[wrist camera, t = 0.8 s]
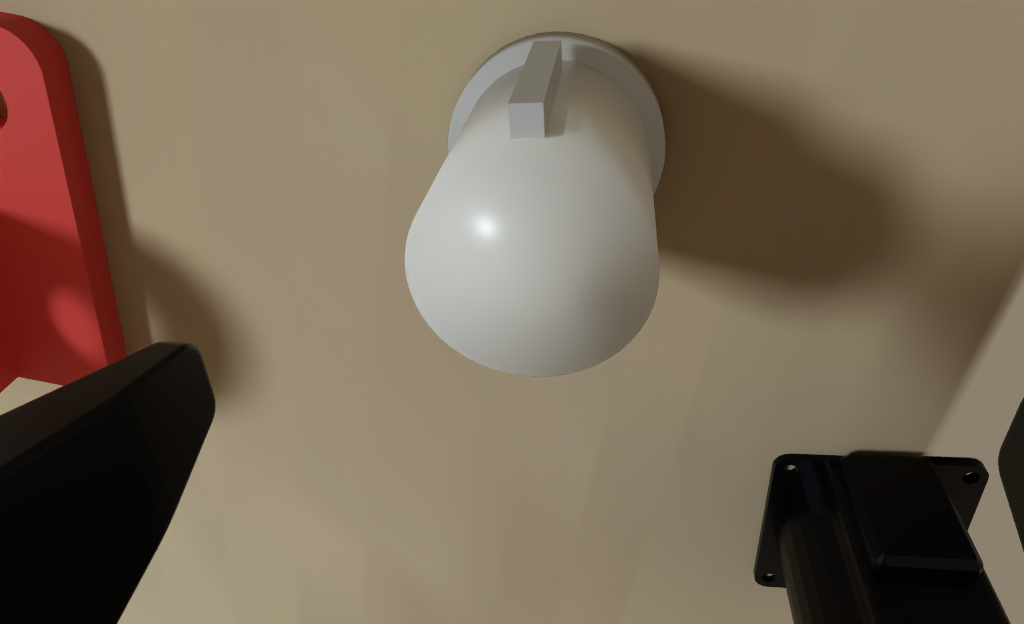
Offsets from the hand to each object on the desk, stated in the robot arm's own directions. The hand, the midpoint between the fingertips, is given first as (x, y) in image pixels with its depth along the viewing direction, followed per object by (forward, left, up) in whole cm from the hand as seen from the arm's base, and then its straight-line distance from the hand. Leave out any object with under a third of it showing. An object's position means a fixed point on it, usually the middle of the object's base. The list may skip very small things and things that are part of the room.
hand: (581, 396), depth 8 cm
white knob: (-1, +1, -12) cm, 12 cm away
